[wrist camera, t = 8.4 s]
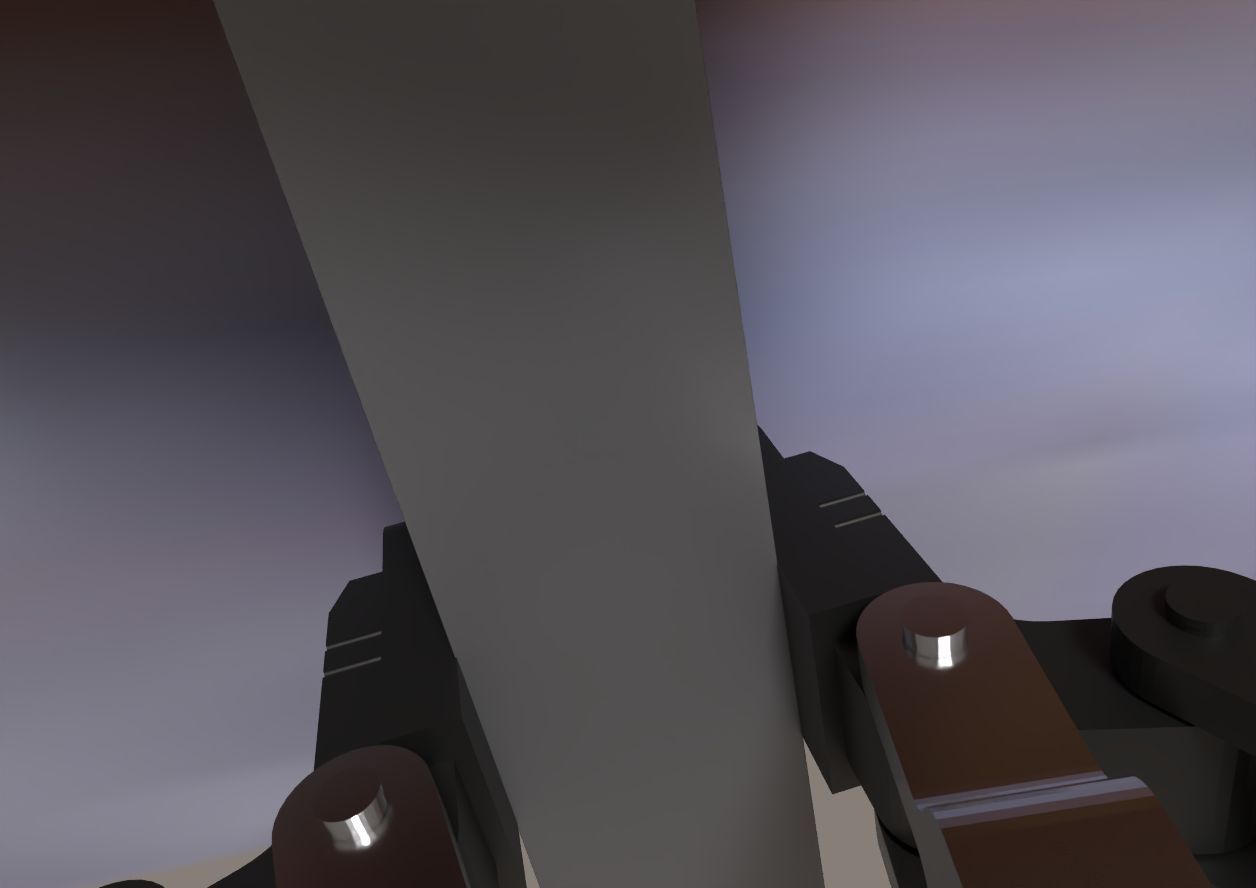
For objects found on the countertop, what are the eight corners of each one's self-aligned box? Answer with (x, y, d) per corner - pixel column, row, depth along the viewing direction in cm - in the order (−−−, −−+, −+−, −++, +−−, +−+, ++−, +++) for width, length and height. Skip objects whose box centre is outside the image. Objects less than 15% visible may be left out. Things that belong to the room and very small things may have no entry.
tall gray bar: (237, -144, 9) (140, -194, 6) (553, -211, 9) (651, -298, 6) (541, 764, 15) (587, 1018, 11) (730, 707, 15) (832, 936, 12)
